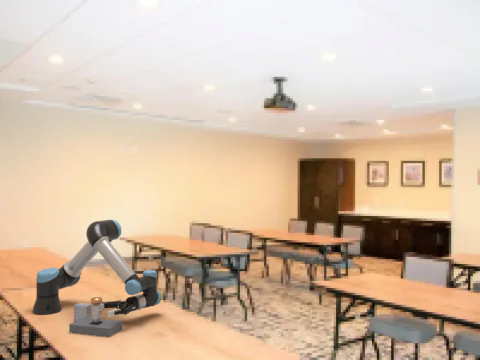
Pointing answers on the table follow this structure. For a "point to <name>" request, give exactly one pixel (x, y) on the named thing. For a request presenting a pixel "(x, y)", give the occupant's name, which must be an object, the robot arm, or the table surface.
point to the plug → (96, 310)
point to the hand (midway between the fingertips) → (99, 311)
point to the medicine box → (82, 311)
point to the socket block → (96, 327)
